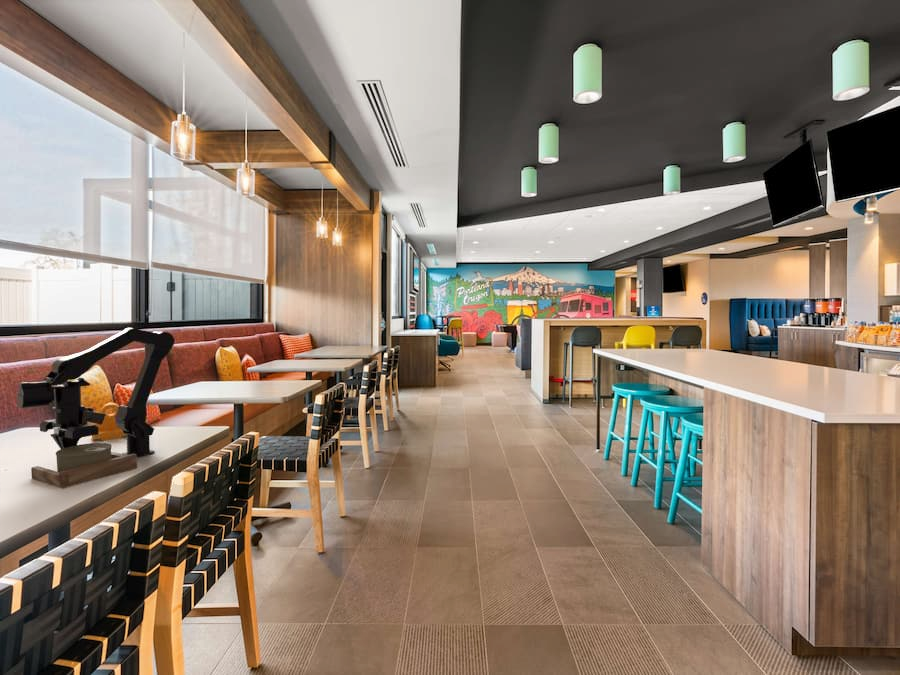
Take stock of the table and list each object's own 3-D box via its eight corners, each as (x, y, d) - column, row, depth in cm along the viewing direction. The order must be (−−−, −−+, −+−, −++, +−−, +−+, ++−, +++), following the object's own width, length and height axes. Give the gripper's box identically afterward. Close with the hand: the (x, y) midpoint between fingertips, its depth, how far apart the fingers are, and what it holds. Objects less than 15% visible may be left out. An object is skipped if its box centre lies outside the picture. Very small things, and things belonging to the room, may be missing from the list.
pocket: (137, 468, 132) (136, 454, 132) (62, 488, 116) (61, 472, 116) (106, 460, 138) (105, 447, 138) (31, 478, 123) (31, 463, 122)
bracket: (91, 442, 159) (91, 407, 159) (92, 437, 165) (91, 404, 165) (129, 437, 165) (129, 404, 165) (129, 433, 171) (128, 401, 171)
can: (81, 466, 133) (81, 442, 133) (122, 466, 133) (122, 443, 132) (43, 480, 121) (43, 454, 121) (88, 481, 121) (88, 455, 120)
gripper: (118, 401, 133) (119, 455, 134) (83, 396, 141) (84, 446, 142) (72, 408, 123) (74, 466, 124) (38, 401, 131) (39, 456, 132)
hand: (69, 458), depth 131 cm, fingers closed
